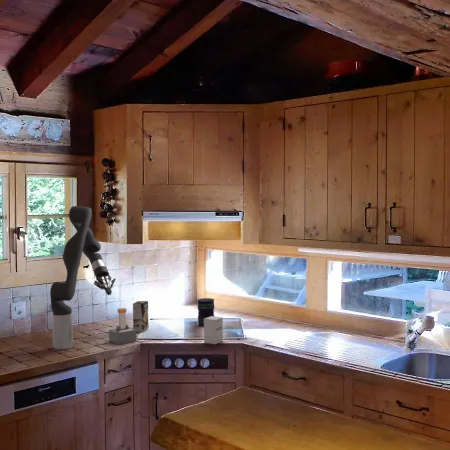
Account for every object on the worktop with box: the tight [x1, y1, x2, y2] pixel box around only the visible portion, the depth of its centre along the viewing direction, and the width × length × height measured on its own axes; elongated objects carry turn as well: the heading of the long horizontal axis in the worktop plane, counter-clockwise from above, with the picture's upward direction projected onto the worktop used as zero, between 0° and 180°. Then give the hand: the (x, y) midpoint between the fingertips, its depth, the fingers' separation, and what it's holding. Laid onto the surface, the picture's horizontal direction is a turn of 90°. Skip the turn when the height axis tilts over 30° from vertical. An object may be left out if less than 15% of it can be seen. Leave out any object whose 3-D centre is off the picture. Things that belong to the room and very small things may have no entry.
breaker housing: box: [108, 324, 138, 346], centre depth 293 cm, size 10×11×8 cm
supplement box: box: [203, 315, 224, 345], centre depth 288 cm, size 7×7×13 cm
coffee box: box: [132, 300, 150, 333], centre depth 317 cm, size 9×6×16 cm
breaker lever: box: [117, 307, 127, 330], centre depth 293 cm, size 3×4×11 cm
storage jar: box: [197, 297, 215, 328], centre depth 327 cm, size 10×10×15 cm
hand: (109, 294), depth 304 cm, fingers closed
